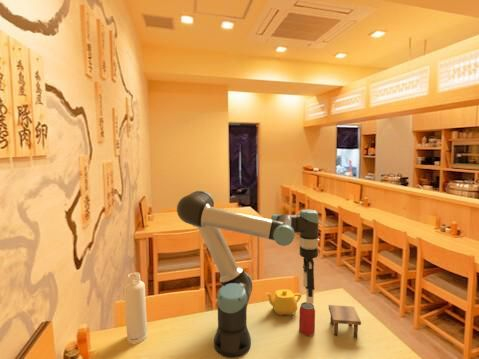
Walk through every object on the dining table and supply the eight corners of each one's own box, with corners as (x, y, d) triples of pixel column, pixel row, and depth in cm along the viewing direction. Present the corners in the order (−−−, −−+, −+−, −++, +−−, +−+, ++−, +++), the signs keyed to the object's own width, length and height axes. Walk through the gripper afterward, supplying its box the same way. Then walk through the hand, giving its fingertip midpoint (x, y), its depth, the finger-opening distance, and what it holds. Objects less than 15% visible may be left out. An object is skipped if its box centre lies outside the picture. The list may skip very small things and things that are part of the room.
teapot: (267, 319, 130) (267, 297, 129) (263, 305, 141) (263, 285, 140) (304, 316, 131) (305, 295, 130) (297, 303, 142) (298, 284, 141)
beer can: (315, 337, 117) (315, 310, 116) (299, 335, 118) (299, 309, 117) (314, 327, 123) (314, 302, 122) (299, 325, 125) (299, 300, 123)
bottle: (142, 328, 124) (139, 268, 121) (150, 337, 118) (147, 274, 115) (124, 337, 118) (120, 274, 115) (132, 346, 112) (128, 281, 109)
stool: (332, 337, 117) (333, 319, 116) (328, 321, 128) (328, 304, 127) (360, 339, 115) (360, 321, 115) (353, 323, 126) (353, 306, 125)
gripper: (322, 258, 104) (321, 311, 106) (314, 237, 128) (313, 280, 131) (302, 257, 105) (301, 310, 107) (297, 236, 129) (297, 280, 132)
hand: (308, 294), depth 119 cm, fingers open, 13 cm apart
